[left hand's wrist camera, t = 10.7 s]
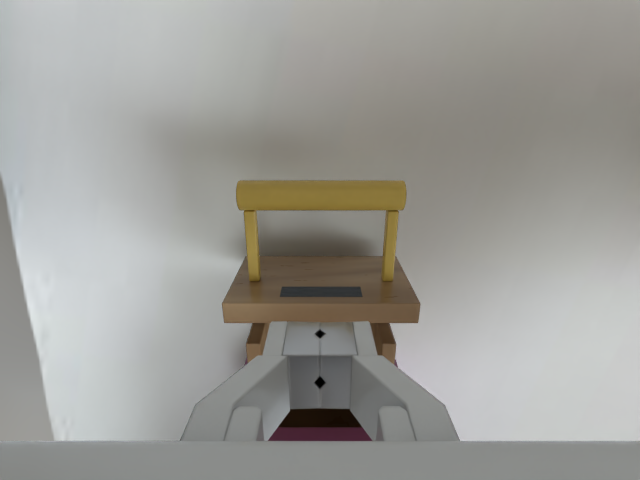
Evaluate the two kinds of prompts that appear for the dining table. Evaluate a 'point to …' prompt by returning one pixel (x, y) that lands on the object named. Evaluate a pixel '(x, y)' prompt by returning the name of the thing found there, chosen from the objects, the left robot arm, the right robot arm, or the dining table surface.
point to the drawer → (321, 275)
